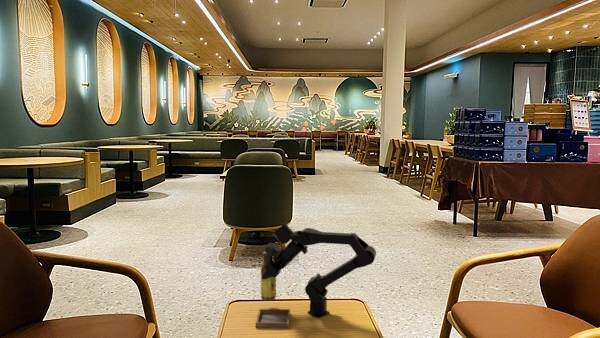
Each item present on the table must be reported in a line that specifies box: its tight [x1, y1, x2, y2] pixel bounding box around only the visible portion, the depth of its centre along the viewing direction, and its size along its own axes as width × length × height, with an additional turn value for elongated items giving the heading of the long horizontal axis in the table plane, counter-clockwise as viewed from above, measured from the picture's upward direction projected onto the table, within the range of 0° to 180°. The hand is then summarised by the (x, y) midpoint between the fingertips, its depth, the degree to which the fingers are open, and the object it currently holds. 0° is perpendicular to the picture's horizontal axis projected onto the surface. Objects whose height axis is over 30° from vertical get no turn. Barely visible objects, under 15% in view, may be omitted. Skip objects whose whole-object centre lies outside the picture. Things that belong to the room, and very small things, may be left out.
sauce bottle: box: [260, 250, 277, 302], centre depth 187 cm, size 7×6×20 cm
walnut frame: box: [255, 308, 291, 329], centre depth 176 cm, size 12×12×2 cm
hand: (265, 276), depth 187 cm, fingers closed on sauce bottle, 6 cm apart
